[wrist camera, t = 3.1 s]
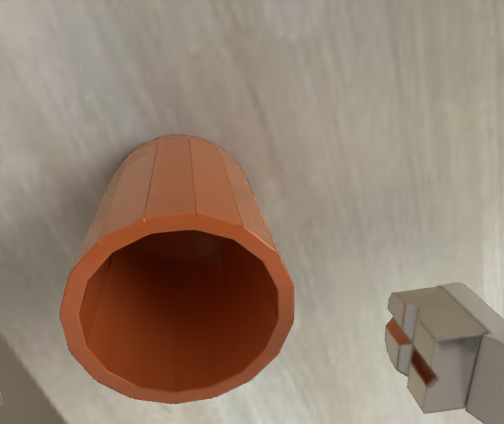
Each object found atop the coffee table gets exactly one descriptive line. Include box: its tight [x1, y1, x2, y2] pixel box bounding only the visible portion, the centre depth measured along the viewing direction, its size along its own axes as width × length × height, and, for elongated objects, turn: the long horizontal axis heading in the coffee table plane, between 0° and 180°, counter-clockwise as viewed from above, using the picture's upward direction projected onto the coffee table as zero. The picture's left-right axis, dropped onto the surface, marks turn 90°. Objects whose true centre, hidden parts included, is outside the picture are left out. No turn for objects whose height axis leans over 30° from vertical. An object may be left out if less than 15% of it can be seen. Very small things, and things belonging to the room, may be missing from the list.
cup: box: [59, 135, 294, 404], centre depth 13 cm, size 5×5×7 cm
